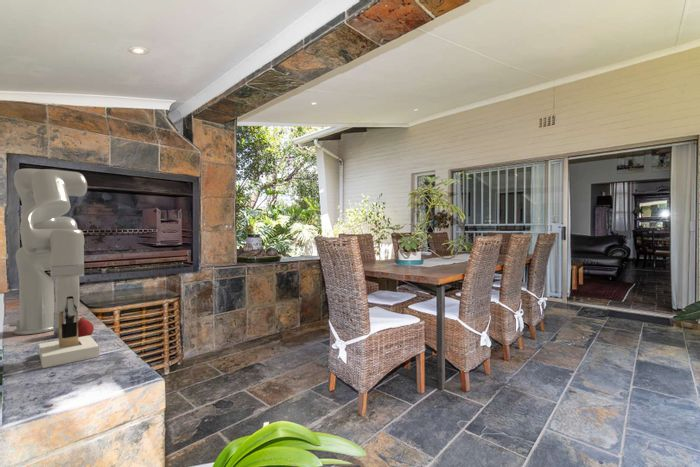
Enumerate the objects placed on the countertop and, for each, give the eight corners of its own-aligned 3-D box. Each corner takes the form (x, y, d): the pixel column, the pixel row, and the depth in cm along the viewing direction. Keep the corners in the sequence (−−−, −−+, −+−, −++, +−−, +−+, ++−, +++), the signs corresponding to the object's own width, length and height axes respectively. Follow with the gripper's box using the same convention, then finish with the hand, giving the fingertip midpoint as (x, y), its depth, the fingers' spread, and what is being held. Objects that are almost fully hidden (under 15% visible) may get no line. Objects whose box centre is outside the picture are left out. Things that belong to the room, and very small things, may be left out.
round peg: (48, 337, 120) (48, 314, 120) (63, 332, 126) (62, 310, 126) (69, 336, 120) (68, 313, 120) (82, 331, 127) (82, 309, 127)
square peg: (58, 344, 100) (58, 309, 100) (76, 341, 103) (76, 307, 103) (60, 347, 97) (59, 311, 97) (78, 344, 100) (77, 309, 100)
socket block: (39, 354, 102) (39, 343, 102) (90, 344, 110) (89, 335, 110) (42, 368, 90) (42, 356, 90) (98, 356, 99) (98, 345, 99)
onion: (84, 344, 111) (83, 318, 111) (66, 344, 111) (66, 319, 111) (97, 338, 117) (97, 314, 117) (80, 339, 117) (80, 315, 117)
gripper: (48, 271, 104) (49, 333, 103) (52, 274, 92) (53, 344, 91) (80, 269, 109) (80, 328, 109) (88, 272, 97) (89, 338, 97)
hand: (68, 334), depth 100 cm, fingers closed on square peg, 4 cm apart
